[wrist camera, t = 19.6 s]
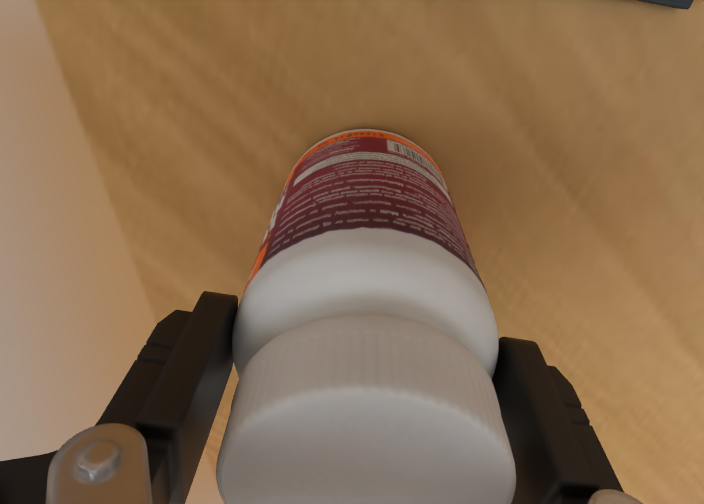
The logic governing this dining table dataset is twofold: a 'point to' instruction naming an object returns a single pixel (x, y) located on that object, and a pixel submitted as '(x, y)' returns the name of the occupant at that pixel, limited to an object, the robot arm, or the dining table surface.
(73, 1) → the dining table surface
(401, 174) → the pill bottle
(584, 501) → the robot arm
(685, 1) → the mat
